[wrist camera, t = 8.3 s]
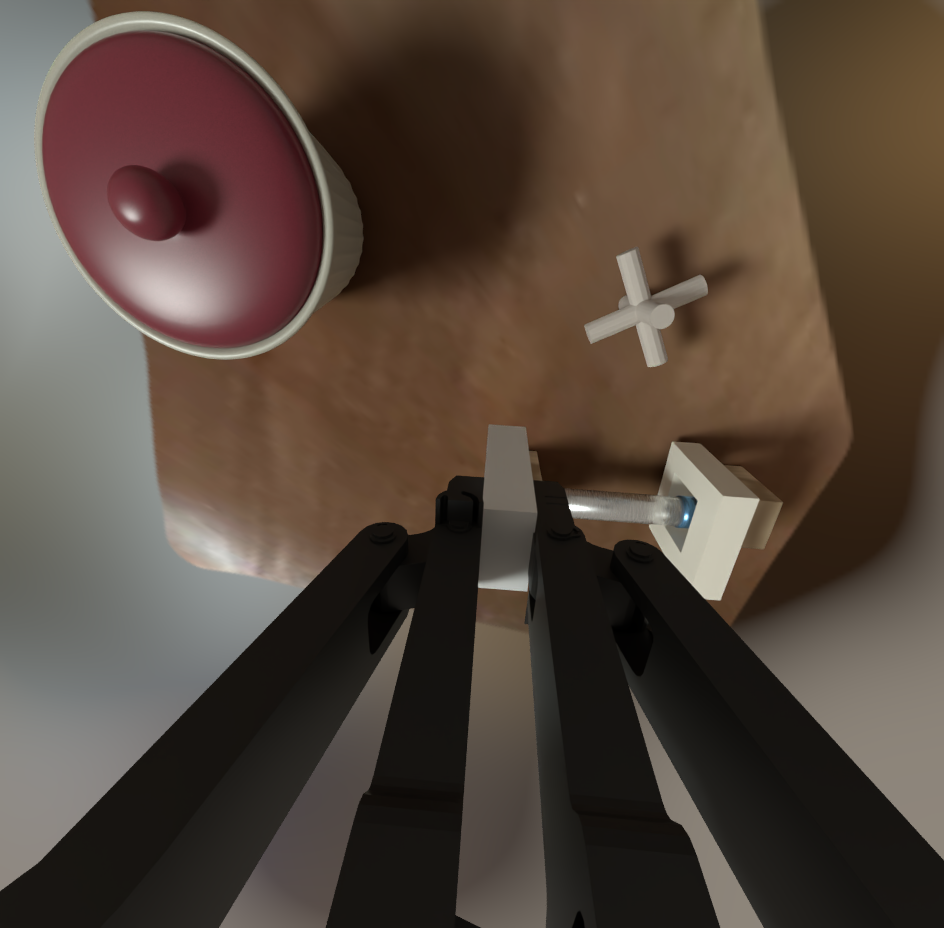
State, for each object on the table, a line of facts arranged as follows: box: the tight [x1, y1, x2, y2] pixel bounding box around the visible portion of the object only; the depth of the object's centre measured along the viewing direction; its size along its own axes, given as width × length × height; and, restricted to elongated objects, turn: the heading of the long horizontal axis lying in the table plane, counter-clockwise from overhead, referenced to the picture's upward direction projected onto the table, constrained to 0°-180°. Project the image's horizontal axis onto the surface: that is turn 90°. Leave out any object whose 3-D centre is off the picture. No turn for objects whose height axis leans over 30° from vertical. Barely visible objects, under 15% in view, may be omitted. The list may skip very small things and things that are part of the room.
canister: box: [34, 11, 364, 359], centre depth 32 cm, size 18×18×21 cm
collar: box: [649, 442, 760, 600], centre depth 44 cm, size 3×11×12 cm, turn 177°
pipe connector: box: [584, 247, 708, 367], centre depth 38 cm, size 10×10×10 cm
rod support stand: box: [529, 451, 783, 549], centre depth 47 cm, size 26×6×8 cm, turn 87°
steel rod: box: [564, 488, 698, 529], centre depth 45 cm, size 25×3×3 cm, turn 87°
